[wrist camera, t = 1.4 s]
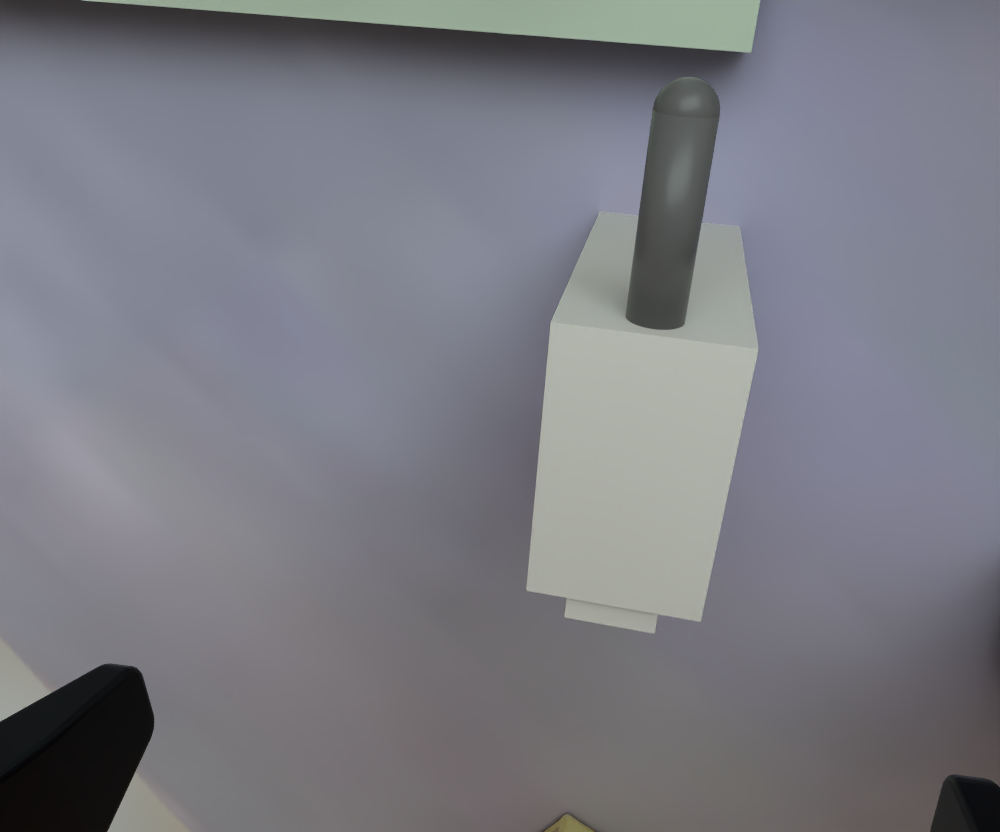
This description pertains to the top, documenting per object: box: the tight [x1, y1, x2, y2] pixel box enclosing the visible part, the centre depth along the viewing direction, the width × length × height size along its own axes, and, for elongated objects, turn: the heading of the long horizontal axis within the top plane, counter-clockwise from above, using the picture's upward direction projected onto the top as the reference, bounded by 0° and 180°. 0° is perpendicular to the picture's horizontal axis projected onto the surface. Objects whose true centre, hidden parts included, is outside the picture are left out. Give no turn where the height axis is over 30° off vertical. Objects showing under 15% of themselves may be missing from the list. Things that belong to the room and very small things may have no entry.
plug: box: [526, 77, 759, 634], centre depth 16 cm, size 9×3×7 cm, turn 177°
